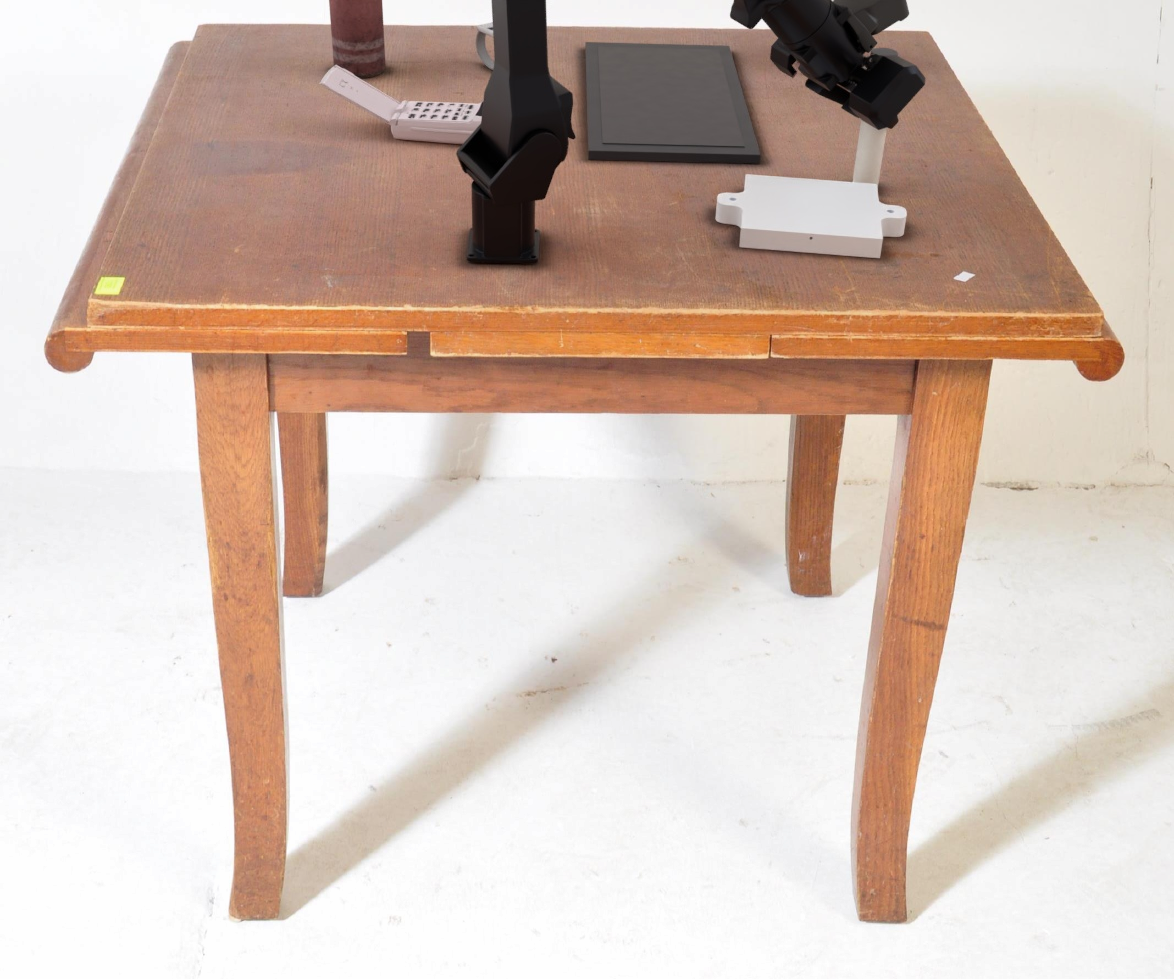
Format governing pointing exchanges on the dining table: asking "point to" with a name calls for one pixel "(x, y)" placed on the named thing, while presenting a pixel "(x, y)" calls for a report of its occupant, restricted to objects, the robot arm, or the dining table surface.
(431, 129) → the mobile phone
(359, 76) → the can
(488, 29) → the wristwatch
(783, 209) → the mounting plate
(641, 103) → the tablet
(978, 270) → the dining table surface
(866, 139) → the white plastic rod
